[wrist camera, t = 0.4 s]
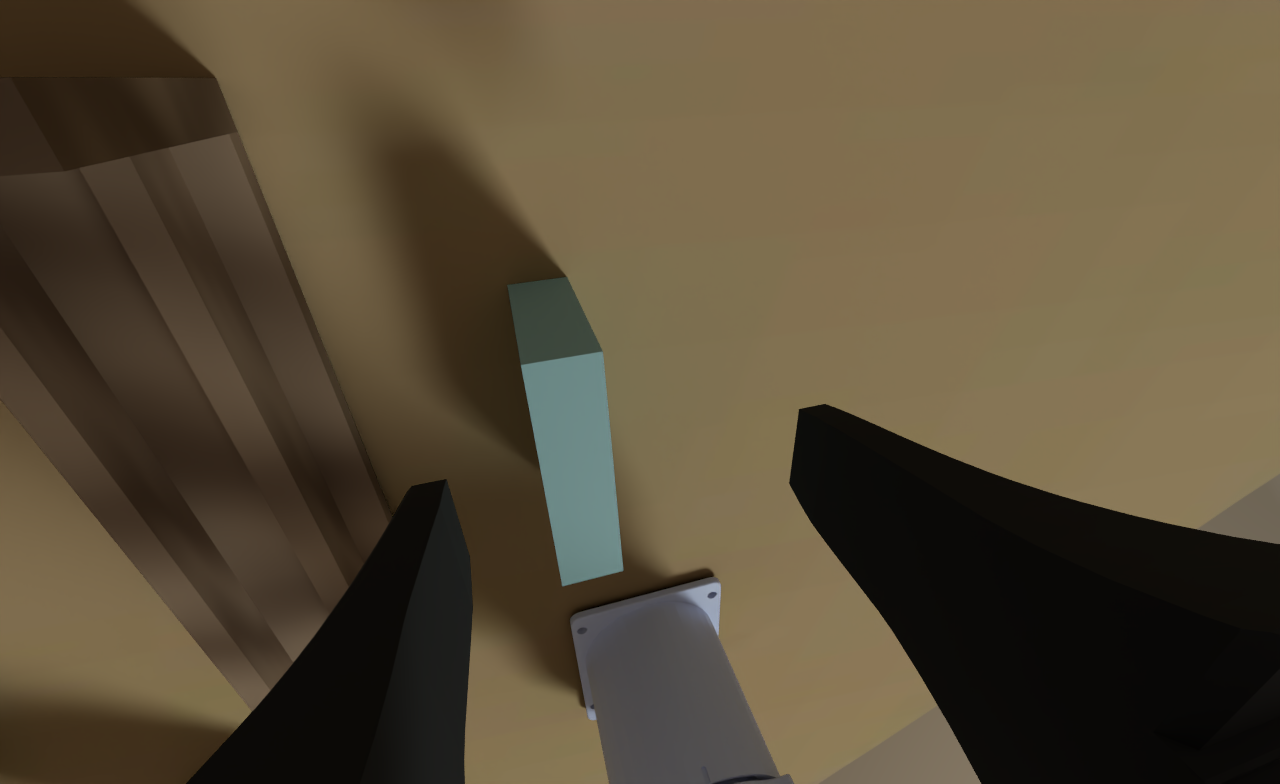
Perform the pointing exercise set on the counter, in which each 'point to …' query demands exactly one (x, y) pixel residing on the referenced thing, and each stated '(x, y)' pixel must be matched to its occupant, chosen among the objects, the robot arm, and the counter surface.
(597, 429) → the teal rectangular block
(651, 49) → the counter surface
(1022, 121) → the counter surface
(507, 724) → the counter surface
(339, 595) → the track
